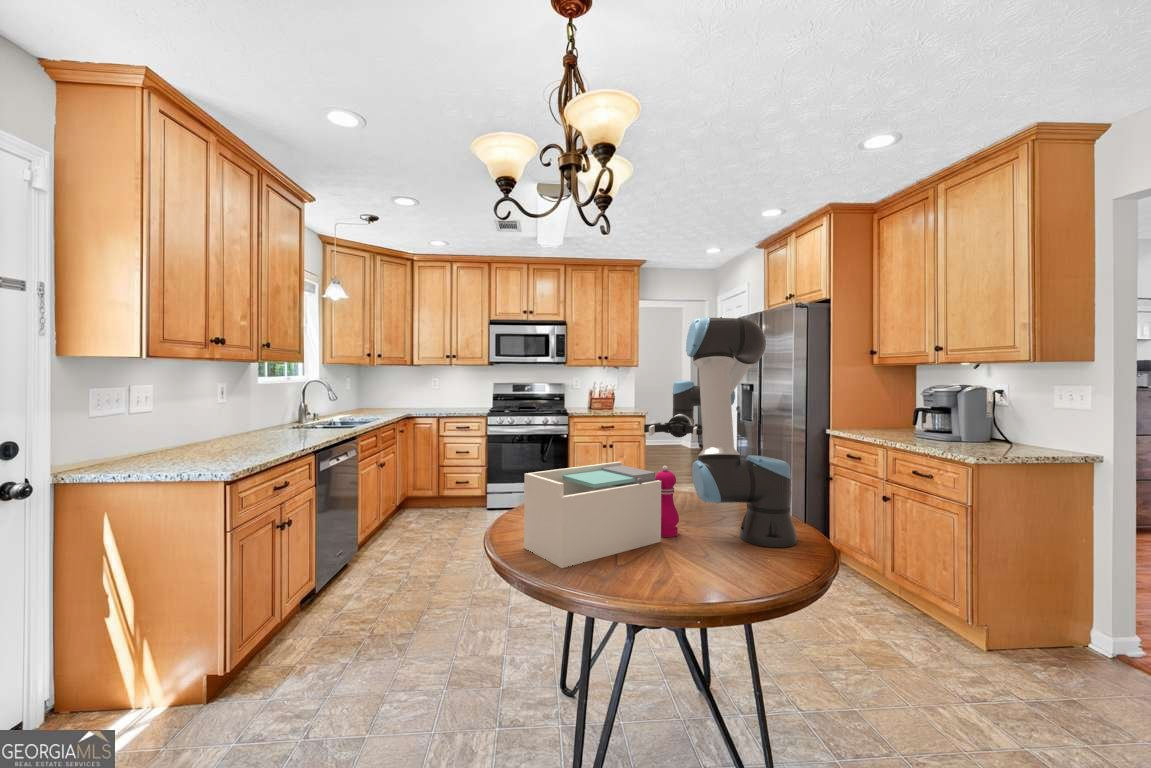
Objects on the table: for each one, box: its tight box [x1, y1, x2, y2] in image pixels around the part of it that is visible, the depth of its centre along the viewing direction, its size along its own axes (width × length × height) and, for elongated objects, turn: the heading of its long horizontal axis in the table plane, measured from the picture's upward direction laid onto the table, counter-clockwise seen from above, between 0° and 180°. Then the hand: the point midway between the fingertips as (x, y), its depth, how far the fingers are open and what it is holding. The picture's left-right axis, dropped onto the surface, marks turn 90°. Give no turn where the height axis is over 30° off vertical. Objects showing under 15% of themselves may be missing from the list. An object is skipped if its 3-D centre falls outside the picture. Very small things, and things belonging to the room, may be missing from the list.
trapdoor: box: [563, 464, 656, 488], centre depth 142 cm, size 14×22×4 cm, turn 127°
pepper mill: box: [655, 465, 680, 538], centre depth 149 cm, size 7×7×20 cm
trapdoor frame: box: [523, 461, 662, 569], centre depth 139 cm, size 19×34×20 cm, turn 127°
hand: (671, 432), depth 158 cm, fingers open, 13 cm apart
